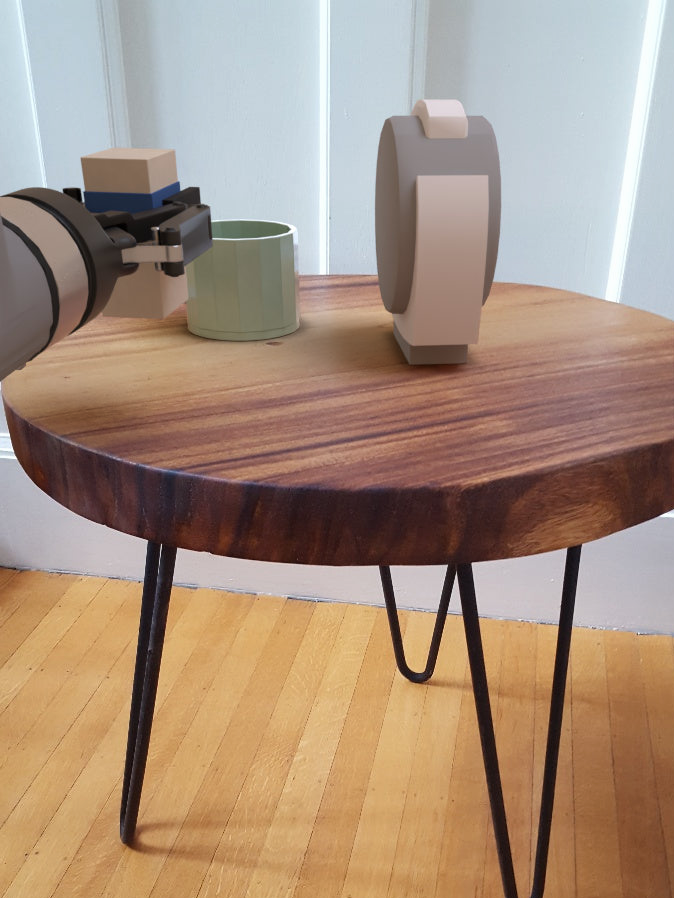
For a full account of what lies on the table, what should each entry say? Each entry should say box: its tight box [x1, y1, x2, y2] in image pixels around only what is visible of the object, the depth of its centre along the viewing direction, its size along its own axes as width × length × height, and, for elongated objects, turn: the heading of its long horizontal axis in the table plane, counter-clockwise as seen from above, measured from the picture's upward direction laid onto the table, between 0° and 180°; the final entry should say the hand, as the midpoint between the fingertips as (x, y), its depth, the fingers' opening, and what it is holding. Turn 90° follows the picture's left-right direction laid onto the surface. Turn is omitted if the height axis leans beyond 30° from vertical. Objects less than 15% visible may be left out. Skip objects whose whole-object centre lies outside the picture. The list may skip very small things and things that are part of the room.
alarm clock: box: [374, 99, 502, 366], centre depth 85 cm, size 18×8×20 cm, turn 7°
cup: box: [184, 218, 301, 342], centre depth 94 cm, size 11×11×9 cm
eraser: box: [80, 147, 188, 320], centre depth 67 cm, size 5×6×10 cm
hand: (160, 206), depth 71 cm, fingers closed on eraser, 5 cm apart
